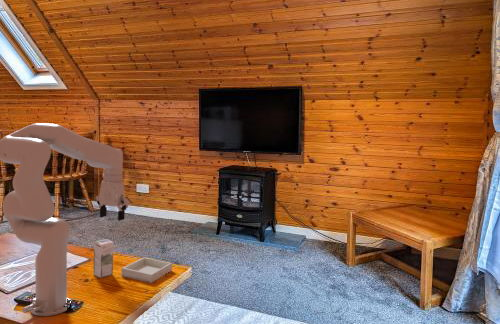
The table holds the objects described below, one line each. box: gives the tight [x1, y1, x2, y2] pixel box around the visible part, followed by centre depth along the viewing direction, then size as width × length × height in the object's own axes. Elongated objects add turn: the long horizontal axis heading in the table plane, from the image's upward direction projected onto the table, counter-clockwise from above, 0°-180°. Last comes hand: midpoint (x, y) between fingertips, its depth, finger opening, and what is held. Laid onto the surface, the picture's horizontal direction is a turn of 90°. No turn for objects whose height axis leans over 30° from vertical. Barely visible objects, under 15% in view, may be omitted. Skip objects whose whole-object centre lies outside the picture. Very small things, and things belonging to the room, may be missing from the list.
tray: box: [121, 256, 173, 284], centre depth 167 cm, size 15×15×4 cm
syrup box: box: [92, 238, 114, 279], centre depth 162 cm, size 6×6×14 cm
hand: (112, 218), depth 164 cm, fingers open, 9 cm apart
